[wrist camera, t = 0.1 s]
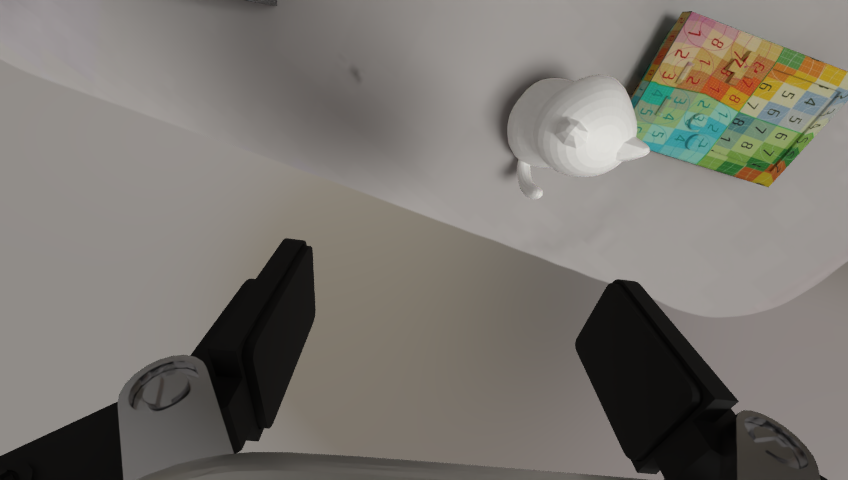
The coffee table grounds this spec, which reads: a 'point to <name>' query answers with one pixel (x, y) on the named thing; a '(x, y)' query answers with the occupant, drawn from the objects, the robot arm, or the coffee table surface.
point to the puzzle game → (733, 100)
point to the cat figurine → (573, 129)
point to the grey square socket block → (266, 1)
